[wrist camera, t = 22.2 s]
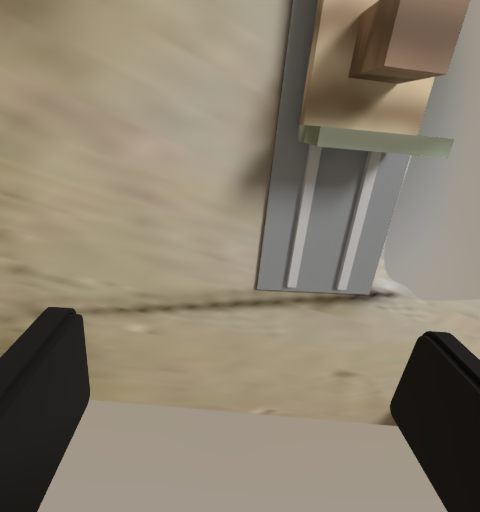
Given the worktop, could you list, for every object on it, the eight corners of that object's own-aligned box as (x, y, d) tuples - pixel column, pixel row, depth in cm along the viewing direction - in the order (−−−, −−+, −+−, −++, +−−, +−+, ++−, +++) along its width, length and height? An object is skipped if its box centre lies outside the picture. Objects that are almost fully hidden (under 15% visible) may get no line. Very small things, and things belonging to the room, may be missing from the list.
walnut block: (397, 84, 30) (446, 74, 23) (348, 77, 29) (384, 66, 23) (414, 21, 28) (472, -9, 21) (361, 13, 27) (405, -20, 21)
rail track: (367, 292, 44) (371, 297, 43) (256, 287, 43) (257, 292, 41) (487, -118, 27) (499, -129, 26) (311, -150, 26) (316, -163, 25)
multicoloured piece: (395, 149, 36) (447, 158, 28) (293, 140, 35) (316, 146, 26) (450, -50, 29) (542, -117, 20) (325, -70, 28) (369, -149, 19)
